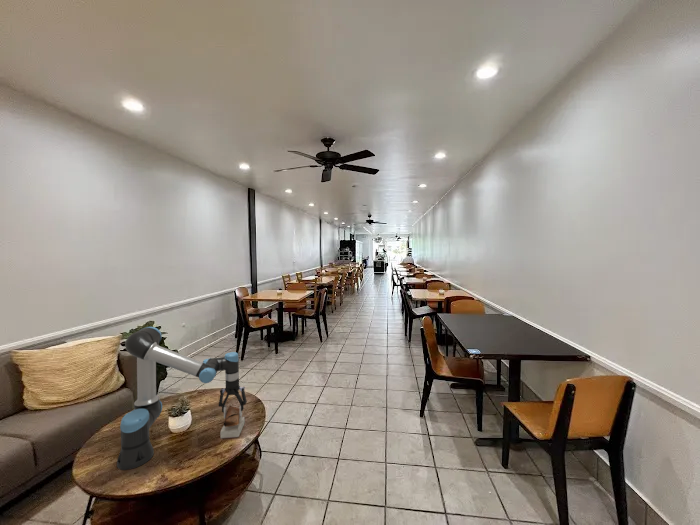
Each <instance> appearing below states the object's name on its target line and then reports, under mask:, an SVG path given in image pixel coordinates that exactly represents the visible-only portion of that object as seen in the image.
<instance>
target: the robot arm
mask: <svg viewBox="0 0 700 525" xmlns="http://www.w3.org/2000/svg"><path fill="white" fill-rule="evenodd" d="M162 337H163V335H162V332H161V330H160V329H158V328H157V327H154V326H146V327H143V328H141V329H139V330H137V331H136V332H133V333H131V334H130V335H129V336H128V337H127V339H126V340H125V342H124V343H125V345H124V347H125V350H126V351H127V352H128V353H129V355H132V356H133V357H135V358H136V382H137V383H136V385H137V387H136V388H137V391H136V392H137V399H136V400H135V401H134V402H133V409H132V410H131V411H130V412H129V411H128V412H127V413H126V414H125V415H124V416H123V417H122V418H121V421H120V426H119V428H120V445H121V446H120V452H119V454H118V457H117V459H116V467H117V469H118V470H124V471H127V470H131V469H135V468H137V467H140V466H142V465H144V464H146V463H148V462H149V461H150V460H151V459H152V457H154V452H155V451H154V447H153V445H152V442H151V440H150V428H151V427H152V425H153V424H154V423H155V422H156V420H157V419H158V418H159V416H160V415H161V413H162V411H163V403H162V401H161V400H160V396H159V395H157V363H158V364H161V365H163V366H166V367H169V368H171V369H175V370H177V371H180V372H183V373H185V374H188V375H190V376H192V377H196V378H198V379H199V381H200V383H202V384H208V383H211V382H212V381H213V380H214V378H216V375H217V373H218V372H221V371H225V372H224V373H225V377H224V379H225V388H221V389H220V390H219V392H220V395H219V402H218V407H221V412H222V413H223V419H225V417H226V414H227V411H228V409H227V405H226V403H227V402H228V400H229V399H228V398H229V397H230V396H235V397H236V399H237V401H238V402H239V407H238V408H239V411H240V417H243V411H244V407H245V406H244V405H246V404H247V402H248V401H247V396H246V391H245V388H246V387H245V386H243V387H241V386H240V368H239V367H240V366H239V364H240V362H239V361H240V360H239V353H238V352H236V351H231V352H227V353H225V354H224V356H223V357H210V358H205V359H203V361H201V360H197V359H195V358H192V357H189V356H187V355H184V354H182V353H179V352H177V351H174V350H171V349H169V348H166V347H163V346H160V342H161V340H162ZM239 391H240V392H241V395H240V392H239ZM225 392H226V395H225V398H224V394H225ZM223 399H224V400H223Z"/></svg>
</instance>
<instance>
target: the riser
mask: <svg viewBox="0 0 700 525" xmlns="http://www.w3.org/2000/svg"><path fill="white" fill-rule="evenodd" d="M245 418H246V417H245V416H241V417H240V418H239V424H238V425H235V426H230V427H225V426H224V425H223V426H222V428H221V429H220V439H229V438H230V439H231V438H239V437H240V435H241V433H242V430H243V427H244V425H245V422H246V421H245Z"/></svg>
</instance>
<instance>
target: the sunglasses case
mask: <svg viewBox="0 0 700 525" xmlns="http://www.w3.org/2000/svg"><path fill="white" fill-rule="evenodd" d="M239 418H240V411H239V407H235V406H232V405H229V407H228V408H227V414H226V417H225V418H224V420H223V426H225V427H230V426H235V425H238V424H239Z"/></svg>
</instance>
